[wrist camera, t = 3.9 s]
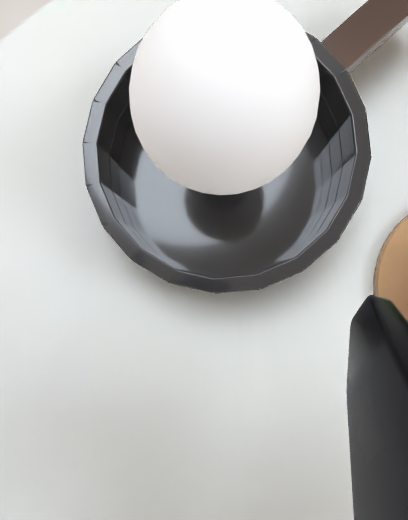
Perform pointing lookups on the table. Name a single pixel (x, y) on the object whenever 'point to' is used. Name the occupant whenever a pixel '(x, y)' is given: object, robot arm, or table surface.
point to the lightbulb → (224, 93)
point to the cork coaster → (394, 268)
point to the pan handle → (366, 31)
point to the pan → (228, 206)
